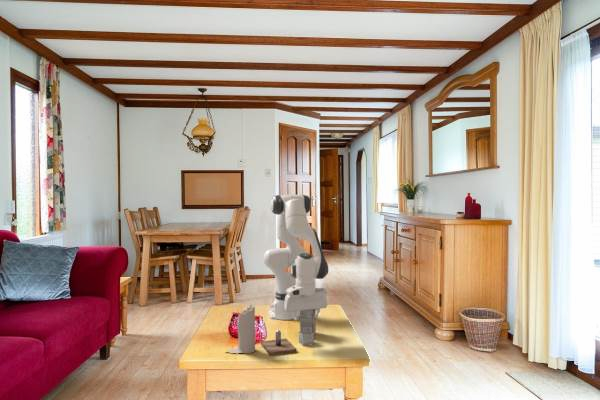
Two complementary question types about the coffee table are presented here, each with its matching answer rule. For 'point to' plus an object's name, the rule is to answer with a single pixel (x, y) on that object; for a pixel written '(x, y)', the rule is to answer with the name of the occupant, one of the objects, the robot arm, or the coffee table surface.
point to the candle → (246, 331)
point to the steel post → (278, 338)
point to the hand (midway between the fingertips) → (306, 319)
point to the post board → (278, 347)
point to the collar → (306, 338)
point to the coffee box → (308, 320)
